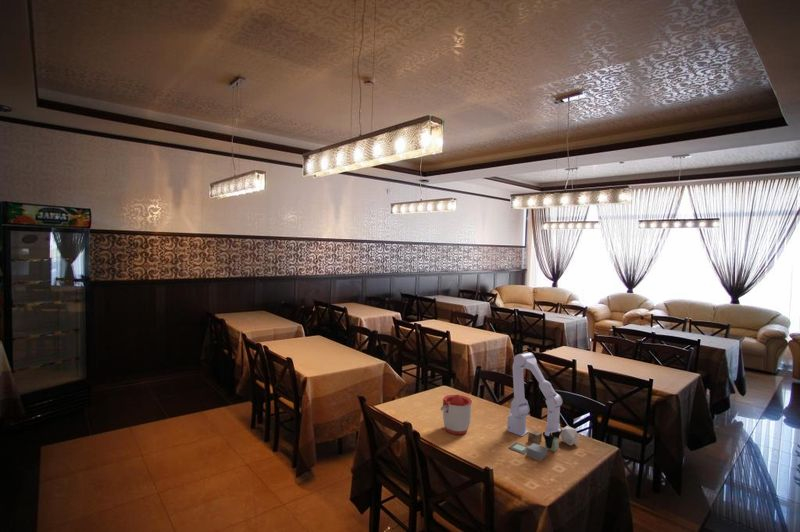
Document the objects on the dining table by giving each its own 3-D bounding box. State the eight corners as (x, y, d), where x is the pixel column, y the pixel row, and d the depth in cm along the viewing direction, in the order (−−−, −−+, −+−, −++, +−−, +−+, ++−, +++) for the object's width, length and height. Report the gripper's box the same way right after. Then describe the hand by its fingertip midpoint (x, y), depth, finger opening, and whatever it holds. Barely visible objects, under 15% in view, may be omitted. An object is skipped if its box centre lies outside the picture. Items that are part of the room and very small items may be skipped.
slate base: (526, 455, 191) (527, 447, 191) (533, 450, 196) (533, 443, 196) (540, 461, 186) (540, 453, 186) (546, 456, 191) (547, 448, 191)
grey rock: (562, 447, 201) (575, 435, 197) (552, 432, 208) (565, 420, 205) (572, 450, 205) (585, 438, 201) (562, 435, 212) (575, 423, 208)
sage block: (544, 447, 199) (545, 438, 199) (548, 444, 202) (549, 435, 202) (554, 451, 195) (555, 441, 195) (558, 448, 199) (559, 438, 199)
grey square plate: (508, 448, 197) (508, 447, 197) (515, 443, 203) (516, 441, 203) (523, 454, 191) (523, 453, 191) (530, 448, 197) (530, 447, 197)
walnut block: (528, 441, 205) (528, 432, 205) (532, 438, 209) (532, 429, 208) (537, 445, 201) (537, 435, 201) (541, 441, 205) (541, 432, 205)
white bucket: (434, 426, 219) (435, 391, 218) (461, 422, 225) (463, 388, 224) (447, 439, 204) (448, 401, 203) (476, 434, 210) (477, 398, 210)
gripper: (555, 425, 190) (553, 453, 191) (566, 417, 201) (565, 443, 201) (541, 421, 195) (539, 447, 196) (553, 413, 206) (551, 438, 206)
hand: (551, 445), depth 199 cm, fingers open, 7 cm apart
